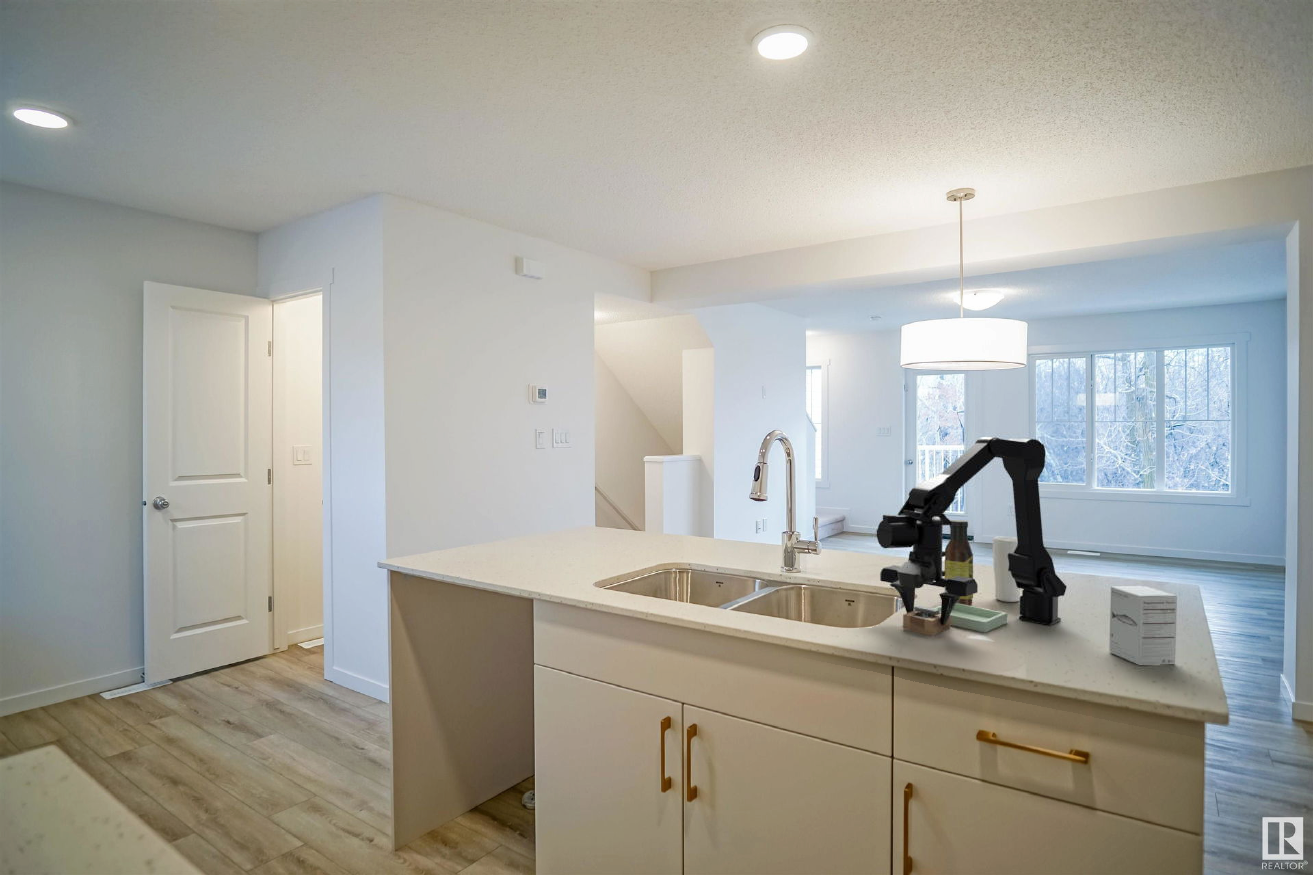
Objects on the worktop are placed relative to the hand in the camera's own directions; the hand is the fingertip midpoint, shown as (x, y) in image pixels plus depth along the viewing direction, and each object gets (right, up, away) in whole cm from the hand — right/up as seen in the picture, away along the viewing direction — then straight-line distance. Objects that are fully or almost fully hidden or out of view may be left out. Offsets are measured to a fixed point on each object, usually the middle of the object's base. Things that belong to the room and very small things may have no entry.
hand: (926, 621), depth 145 cm
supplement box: (+32, -2, -18) cm, 37 cm away
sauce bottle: (+15, -2, +20) cm, 26 cm away
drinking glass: (+29, -2, +24) cm, 38 cm away
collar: (0, -2, 0) cm, 2 cm away
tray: (+11, -2, +6) cm, 12 cm away
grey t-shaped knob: (0, -2, 0) cm, 2 cm away
